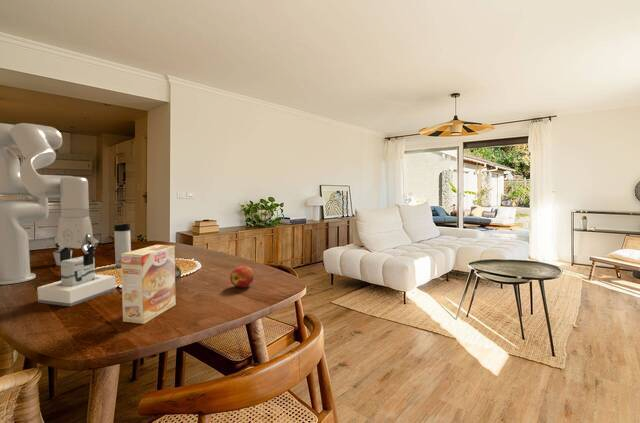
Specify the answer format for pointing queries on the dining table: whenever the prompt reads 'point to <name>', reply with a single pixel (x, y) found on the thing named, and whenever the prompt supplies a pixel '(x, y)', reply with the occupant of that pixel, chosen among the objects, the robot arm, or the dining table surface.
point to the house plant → (57, 252)
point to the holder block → (76, 291)
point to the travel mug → (121, 241)
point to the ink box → (76, 272)
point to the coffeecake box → (147, 282)
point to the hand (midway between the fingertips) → (77, 263)
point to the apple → (242, 276)
